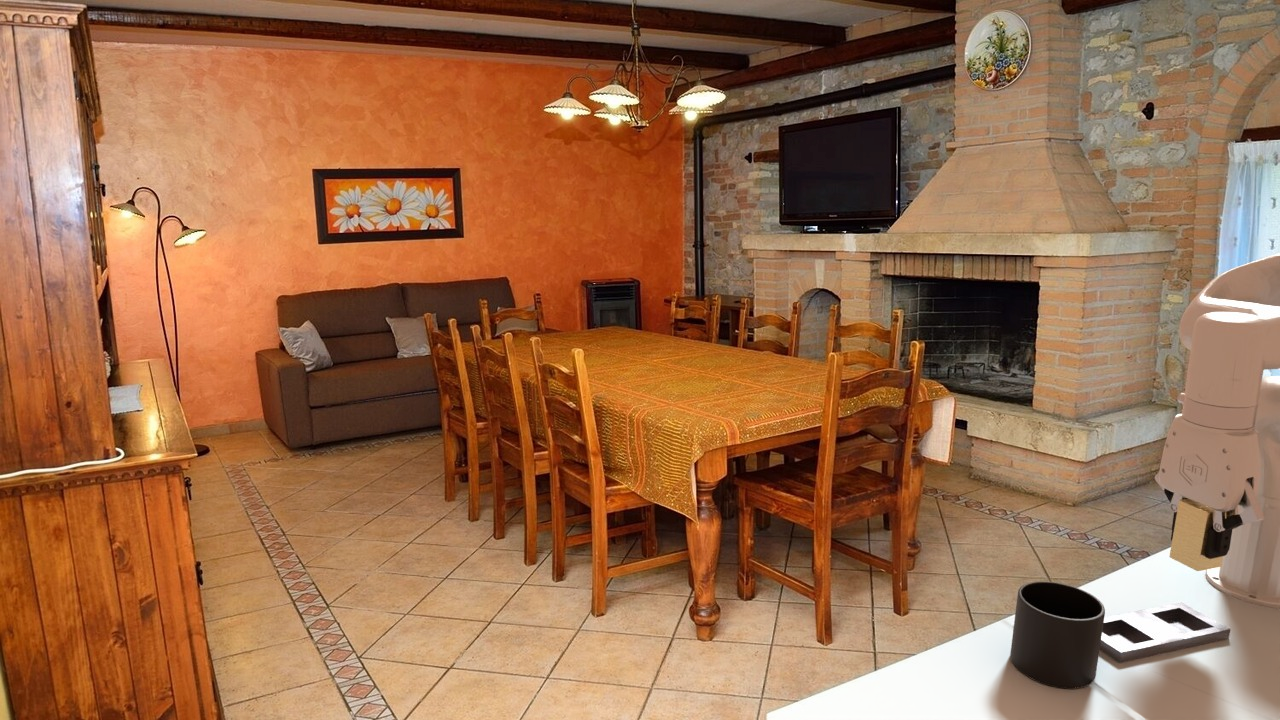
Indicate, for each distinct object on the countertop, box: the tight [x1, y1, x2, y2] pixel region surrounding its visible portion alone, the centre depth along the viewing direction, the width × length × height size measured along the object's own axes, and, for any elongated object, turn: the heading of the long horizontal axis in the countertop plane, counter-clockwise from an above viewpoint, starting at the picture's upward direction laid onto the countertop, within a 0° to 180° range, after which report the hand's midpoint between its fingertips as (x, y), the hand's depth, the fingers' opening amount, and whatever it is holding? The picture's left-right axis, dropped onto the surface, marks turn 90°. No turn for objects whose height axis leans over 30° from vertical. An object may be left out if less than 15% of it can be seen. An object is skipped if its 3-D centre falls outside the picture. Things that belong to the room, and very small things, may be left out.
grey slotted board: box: [1099, 602, 1231, 664], centre depth 108 cm, size 18×7×2 cm, turn 108°
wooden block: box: [1169, 499, 1226, 572], centre depth 107 cm, size 4×4×8 cm
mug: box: [1009, 580, 1106, 689], centre depth 102 cm, size 9×12×9 cm
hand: (1198, 546), depth 108 cm, fingers closed on wooden block, 4 cm apart
